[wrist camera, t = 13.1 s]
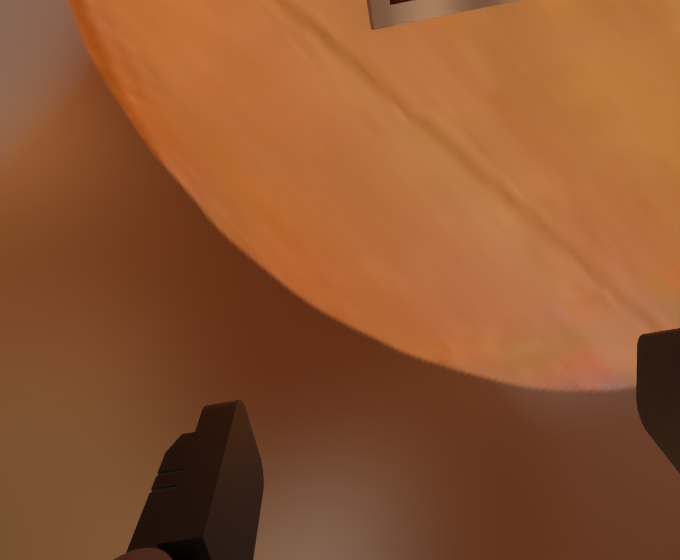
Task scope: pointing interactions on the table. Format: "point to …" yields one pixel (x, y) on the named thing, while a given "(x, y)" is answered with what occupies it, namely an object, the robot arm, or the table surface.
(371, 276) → the table surface
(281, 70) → the table surface
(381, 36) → the table surface
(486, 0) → the frame
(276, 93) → the table surface
